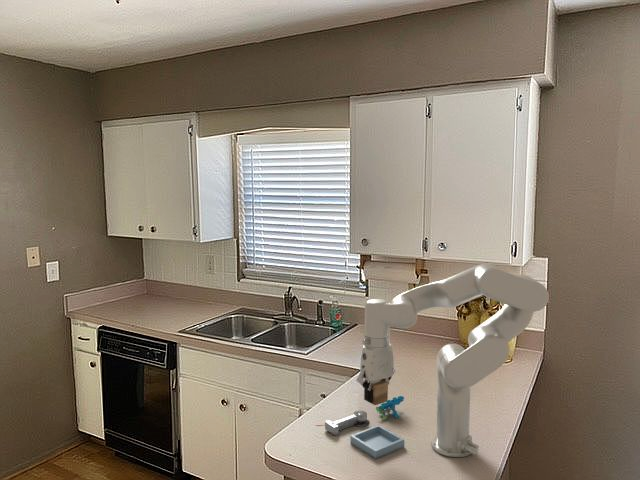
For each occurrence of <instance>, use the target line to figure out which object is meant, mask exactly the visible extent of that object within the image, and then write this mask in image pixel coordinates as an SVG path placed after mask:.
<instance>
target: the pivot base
mask: <svg viewBox="0 0 640 480" xmlns="http://www.w3.org/2000/svg"><path fill="white" fill-rule="evenodd" d="M369 424H370V420H369V419H367V422H366V423H365V424H355V425H353V426H355V427H361V428H363V427H367V426H369ZM315 425H316V426H325V423H316V424H315Z"/></svg>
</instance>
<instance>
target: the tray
mask: <svg viewBox="0 0 640 480" xmlns="http://www.w3.org/2000/svg"><path fill="white" fill-rule="evenodd" d="M349 437H350V438H349V439H350V444H351V445H352V446H353V447H355V448H357V449H358V450H360V451H362V452H363V453H365V454H366V455H368V456H370V457H371V458H372V459H374V460H377V459H380V458H383V457H385V456H387V455H389V454H392V453H394V452H396V451H399V450H401V449H404V448H405V439H404V438H403V437H401V436H400V435H397V433H396V434H395V433H394V432H392V431H391V430H388V429H387V428H385V427H383V426H381V425H379V424H377V425H375V426H372V427H370V428H367V429H364V430H362V431H359V432H356V433H354V434H351V435H350V436H349Z"/></svg>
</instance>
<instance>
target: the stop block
mask: <svg viewBox="0 0 640 480" xmlns="http://www.w3.org/2000/svg"><path fill="white" fill-rule="evenodd" d="M367 384H369V381H368V383H367ZM363 389H364V391H363V397H364V396H365V388H363ZM371 390H373V403H370V404H371V405H374V406H378V405H381V404H382V403H387V401H388V400H389V399H388V397H389V396H388V394H389V391H388V390H389V385H388V382H386V381H384V380H378V381H375V382H373V385H372V389H371ZM363 400H364V401H366V400H365V399H364V398H363Z"/></svg>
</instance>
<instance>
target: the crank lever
mask: <svg viewBox="0 0 640 480" xmlns="http://www.w3.org/2000/svg"><path fill="white" fill-rule="evenodd" d="M367 420H368V413H367V412H366V411H365V410H356V411H354V412H353V414H351V415H348V416H346V417H343V418H340V419H336V420H334V421H331V420H330V419H328V420H326V421H324V424H325V425H324V430H326V431H327V432H329V433H330V434H331V435H333V436H337V435H339V431H341V430H343V429H346V428H347V429H348V428H349V427H352V426H354V425H355V424H365V423H366V422H367Z"/></svg>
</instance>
